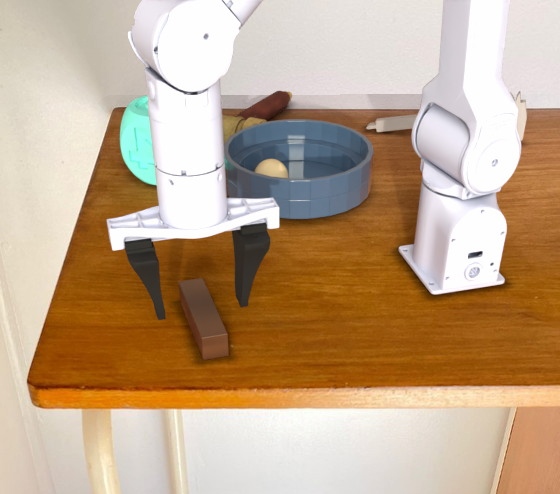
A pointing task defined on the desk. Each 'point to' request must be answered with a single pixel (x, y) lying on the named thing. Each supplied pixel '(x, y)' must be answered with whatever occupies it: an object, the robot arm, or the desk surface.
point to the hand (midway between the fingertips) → (201, 307)
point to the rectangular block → (203, 319)
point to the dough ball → (272, 168)
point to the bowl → (301, 166)
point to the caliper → (409, 120)
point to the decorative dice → (138, 140)
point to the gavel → (256, 113)
